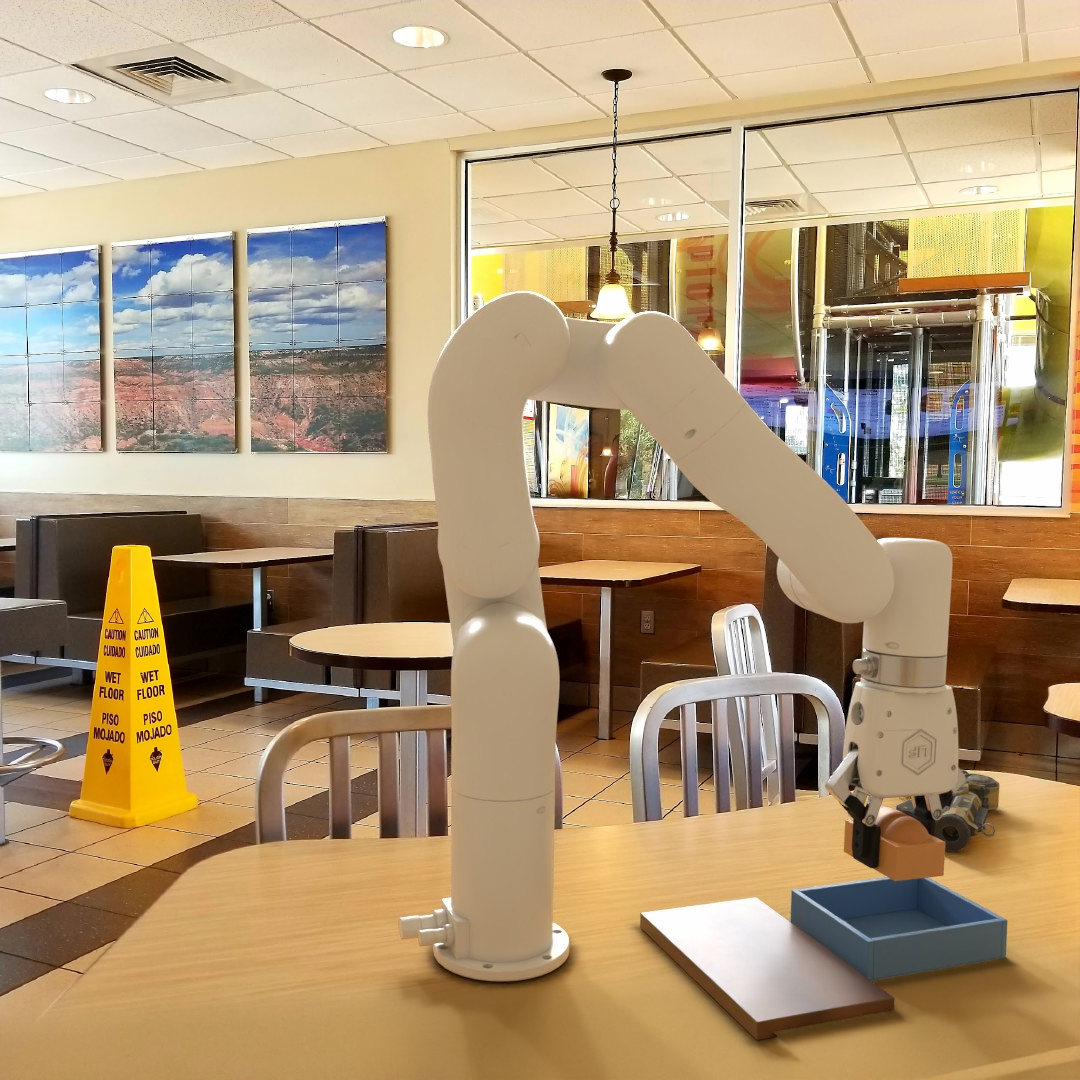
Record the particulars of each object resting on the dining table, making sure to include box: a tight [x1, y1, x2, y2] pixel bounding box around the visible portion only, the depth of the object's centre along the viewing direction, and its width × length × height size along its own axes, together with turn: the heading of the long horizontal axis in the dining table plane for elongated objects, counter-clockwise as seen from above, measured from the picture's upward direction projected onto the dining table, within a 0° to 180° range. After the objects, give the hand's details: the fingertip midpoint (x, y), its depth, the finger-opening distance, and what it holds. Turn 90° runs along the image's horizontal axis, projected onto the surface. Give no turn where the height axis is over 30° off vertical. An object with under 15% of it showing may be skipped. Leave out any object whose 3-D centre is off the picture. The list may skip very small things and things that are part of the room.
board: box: [639, 896, 895, 1041], centre depth 97 cm, size 13×22×2 cm, turn 19°
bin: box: [790, 876, 1008, 982], centre depth 102 cm, size 15×12×4 cm
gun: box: [895, 768, 1000, 852], centre depth 140 cm, size 5×26×15 cm
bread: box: [843, 805, 946, 881], centre depth 101 cm, size 5×8×5 cm
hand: (892, 858), depth 101 cm, fingers closed on bread, 5 cm apart
